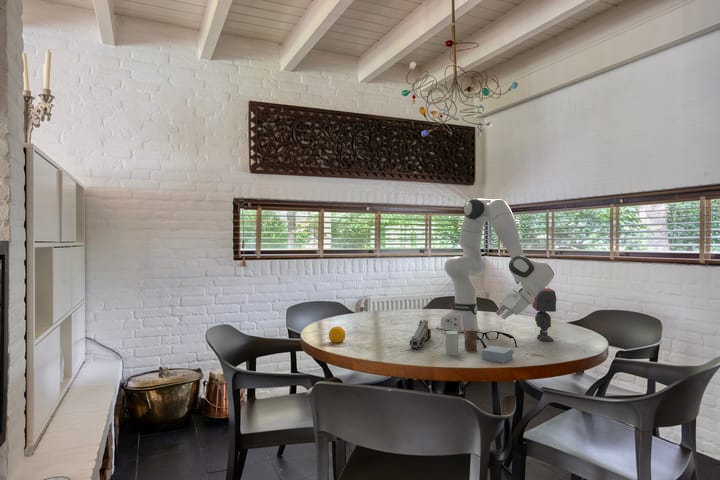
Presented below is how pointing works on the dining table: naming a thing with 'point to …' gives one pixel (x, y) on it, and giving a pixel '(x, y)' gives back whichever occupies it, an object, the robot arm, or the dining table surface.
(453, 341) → the sage block
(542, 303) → the toy robot
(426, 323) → the toy
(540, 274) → the robot arm
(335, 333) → the orange
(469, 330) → the walnut block
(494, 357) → the slate pedestal
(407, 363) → the dining table surface
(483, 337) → the glasses
